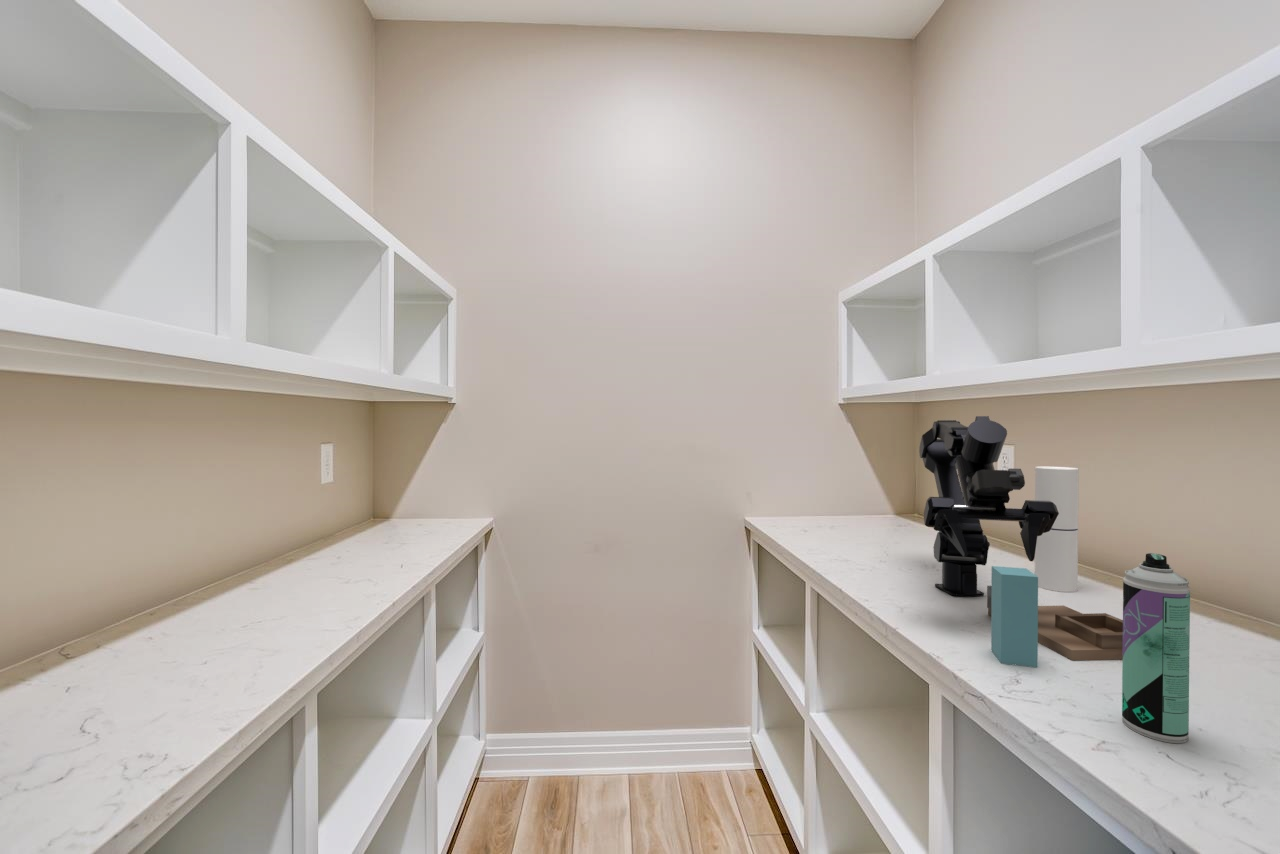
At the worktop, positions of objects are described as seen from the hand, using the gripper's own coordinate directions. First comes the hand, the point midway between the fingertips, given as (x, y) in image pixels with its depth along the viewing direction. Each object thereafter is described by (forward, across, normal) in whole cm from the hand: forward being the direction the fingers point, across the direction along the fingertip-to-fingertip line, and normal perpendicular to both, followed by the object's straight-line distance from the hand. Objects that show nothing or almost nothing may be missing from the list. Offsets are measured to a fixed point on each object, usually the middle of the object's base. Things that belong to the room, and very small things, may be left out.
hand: (998, 557), depth 85 cm
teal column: (+14, 0, +4) cm, 15 cm away
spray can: (+26, +9, -7) cm, 28 cm away
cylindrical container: (-15, +20, +34) cm, 42 cm away
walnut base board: (+5, +11, +13) cm, 18 cm away
